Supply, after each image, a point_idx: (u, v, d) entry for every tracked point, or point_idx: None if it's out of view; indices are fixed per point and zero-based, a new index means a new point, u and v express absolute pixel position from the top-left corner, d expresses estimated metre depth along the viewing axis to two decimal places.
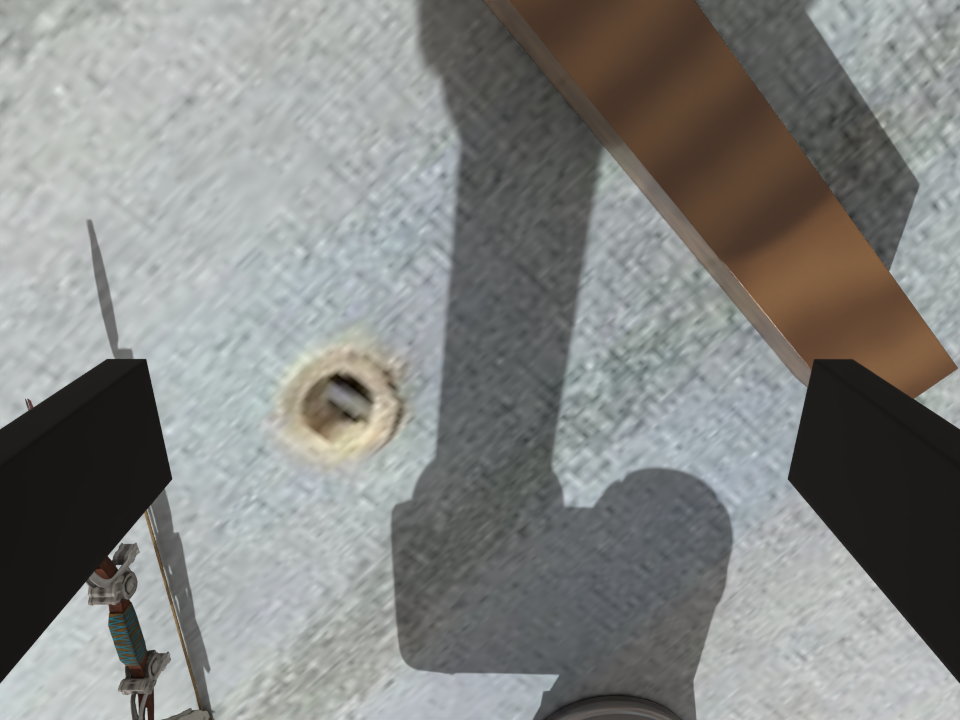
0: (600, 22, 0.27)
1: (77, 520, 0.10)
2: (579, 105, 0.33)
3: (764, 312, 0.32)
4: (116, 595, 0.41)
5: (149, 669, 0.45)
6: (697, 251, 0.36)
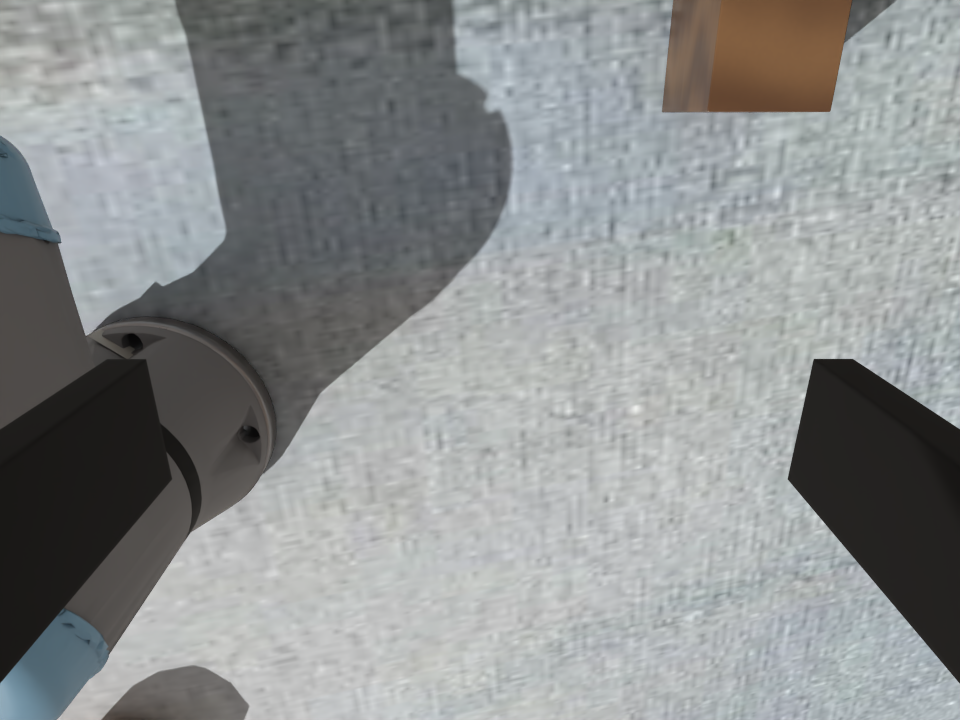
0: None
1: (77, 520, 0.10)
2: None
3: None
4: None
5: None
6: None
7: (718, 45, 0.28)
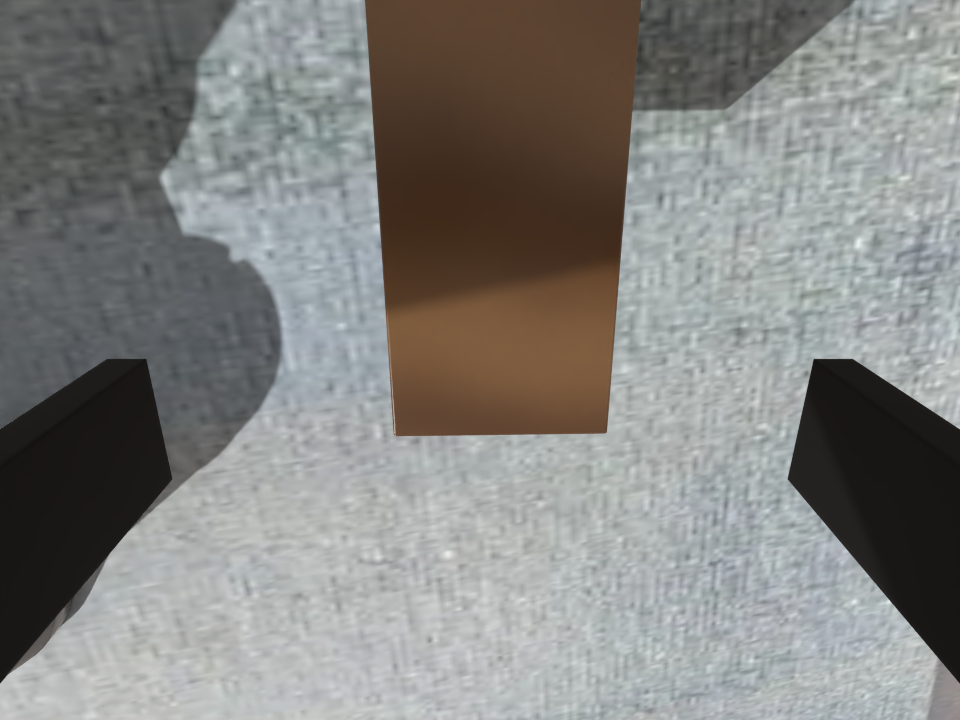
0: None
1: (77, 520, 0.10)
2: None
3: (368, 29, 0.13)
4: None
5: None
6: None
7: (392, 339, 0.16)
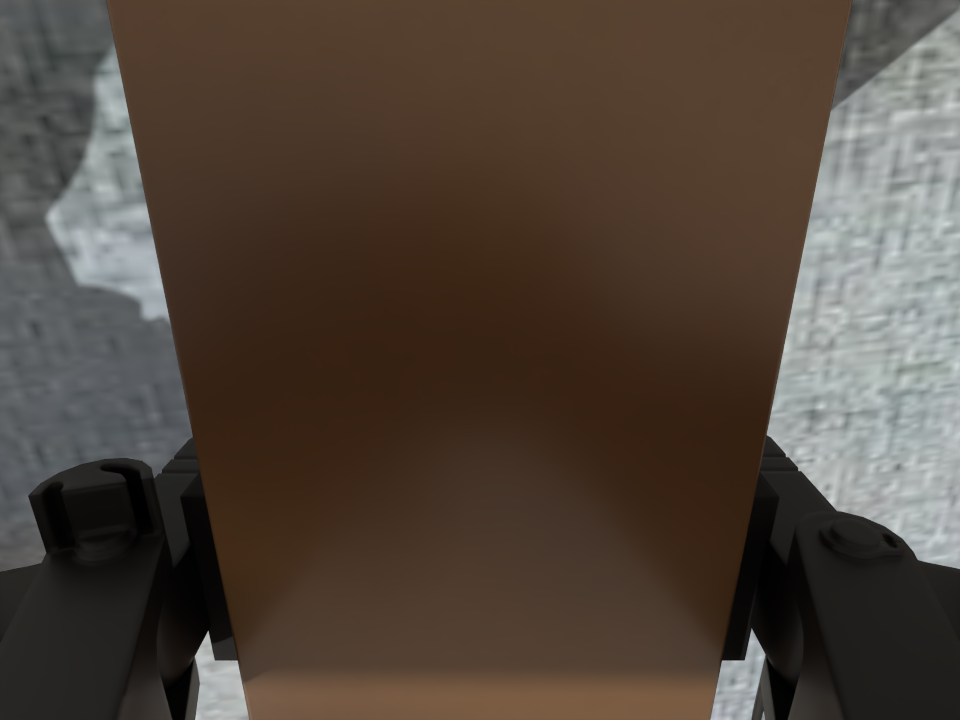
0: None
1: None
2: None
3: None
4: None
5: None
6: None
7: (245, 654, 0.07)
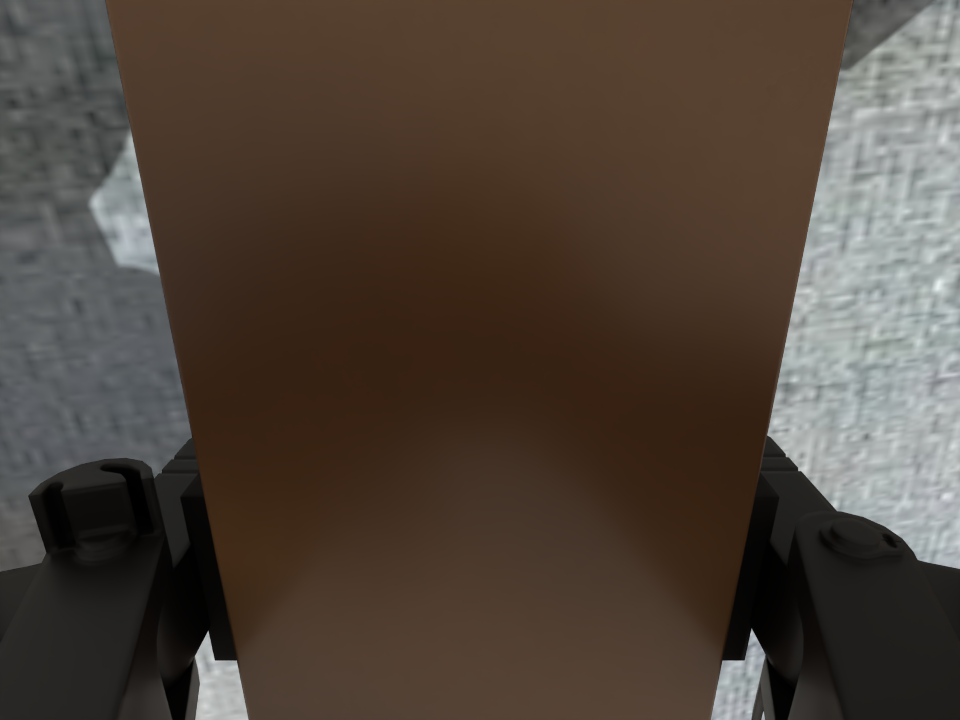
0: None
1: None
2: None
3: None
4: None
5: None
6: None
7: (244, 655, 0.07)
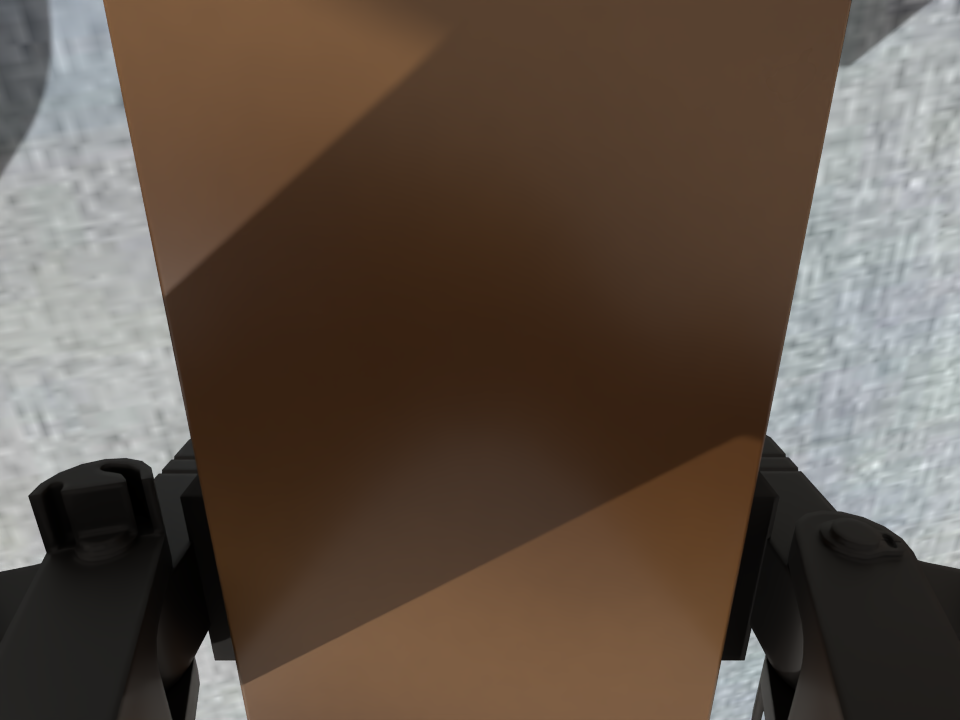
0: None
1: None
2: None
3: None
4: None
5: None
6: None
7: (243, 651, 0.07)
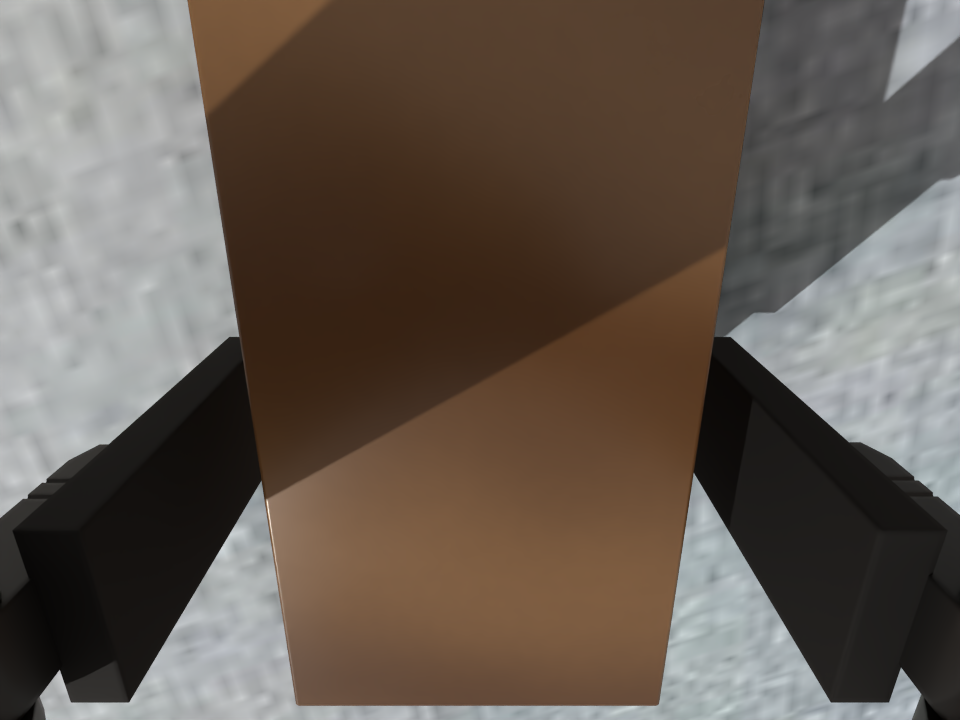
0: None
1: (225, 477, 0.11)
2: None
3: (190, 2, 0.06)
4: None
5: None
6: None
7: (282, 565, 0.09)
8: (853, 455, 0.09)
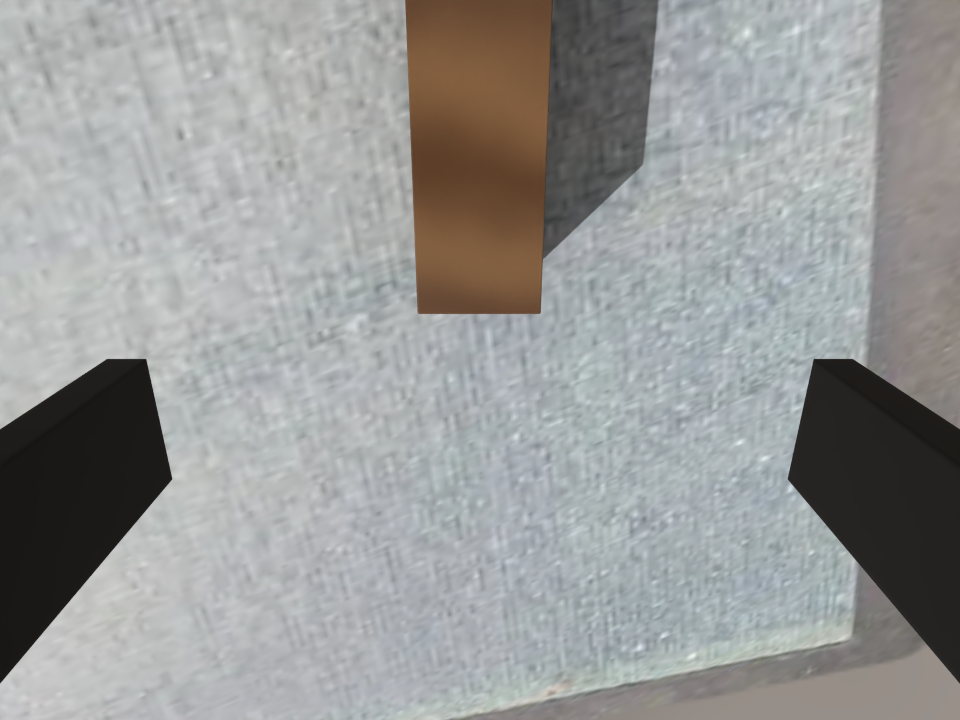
0: None
1: (77, 520, 0.10)
2: None
3: (409, 86, 0.26)
4: None
5: None
6: None
7: (418, 255, 0.28)
8: None
